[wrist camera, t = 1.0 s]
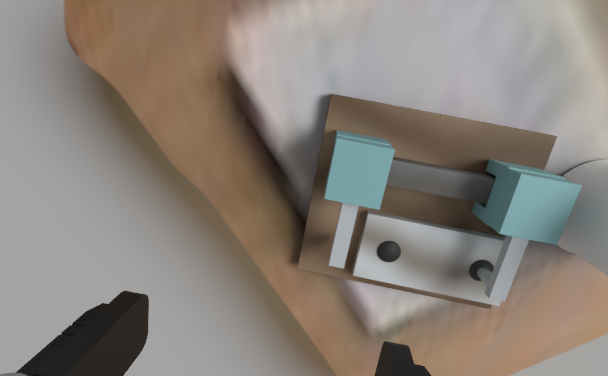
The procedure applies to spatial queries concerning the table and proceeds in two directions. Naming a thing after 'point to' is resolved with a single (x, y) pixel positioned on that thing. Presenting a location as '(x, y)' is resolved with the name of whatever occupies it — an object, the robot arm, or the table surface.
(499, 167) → the fixed leg
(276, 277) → the table surface
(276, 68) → the table surface
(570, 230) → the mug
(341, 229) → the sliding leg
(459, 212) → the board
